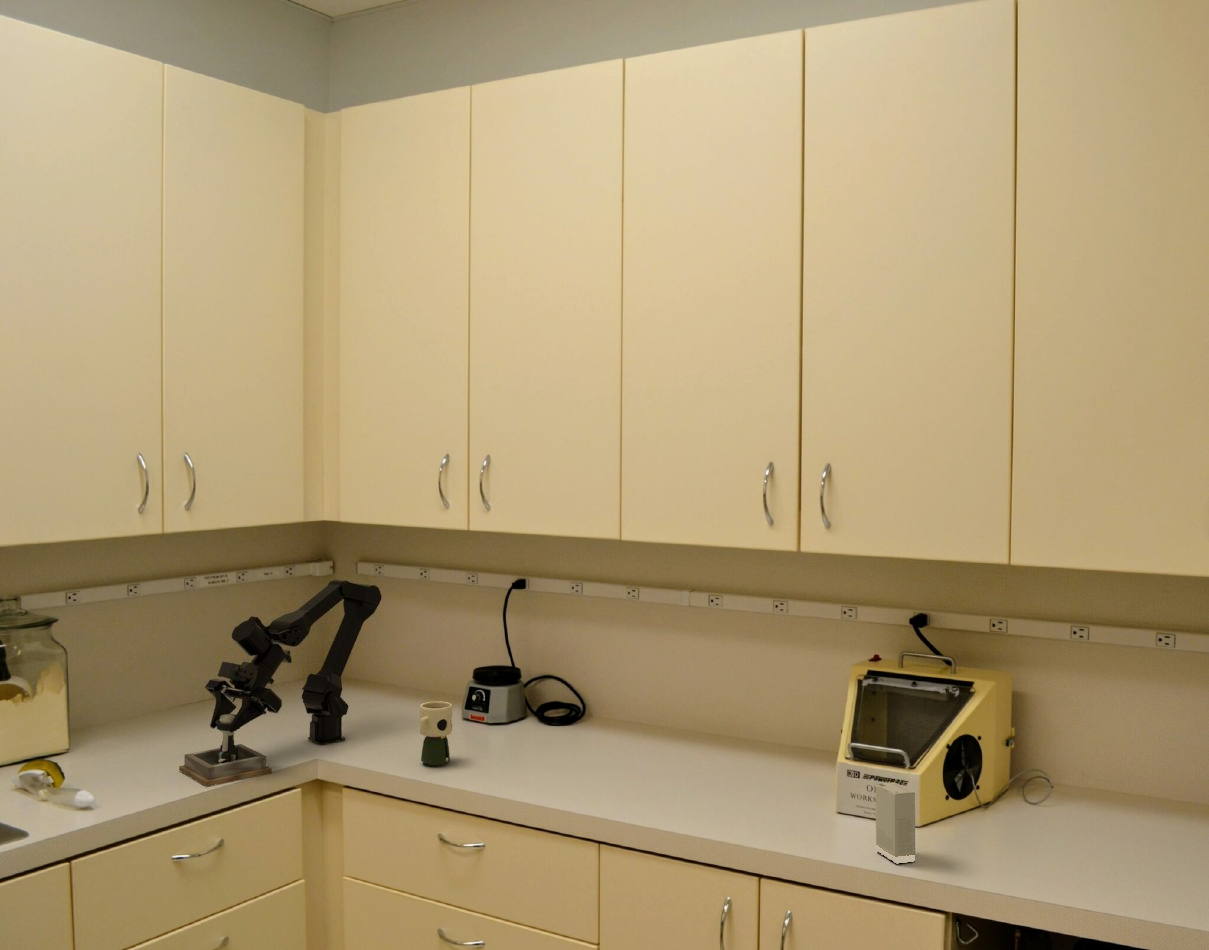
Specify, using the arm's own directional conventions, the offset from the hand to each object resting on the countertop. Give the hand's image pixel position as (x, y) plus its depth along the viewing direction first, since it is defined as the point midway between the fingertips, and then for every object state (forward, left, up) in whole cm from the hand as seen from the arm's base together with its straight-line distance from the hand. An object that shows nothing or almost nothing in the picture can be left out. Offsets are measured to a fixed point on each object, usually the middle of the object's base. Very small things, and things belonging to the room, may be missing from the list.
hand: (220, 729), depth 217 cm
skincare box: (-67, +120, -10) cm, 138 cm away
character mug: (-38, +24, -10) cm, 46 cm away
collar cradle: (-1, 0, -9) cm, 9 cm away
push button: (-1, 0, -8) cm, 8 cm away
